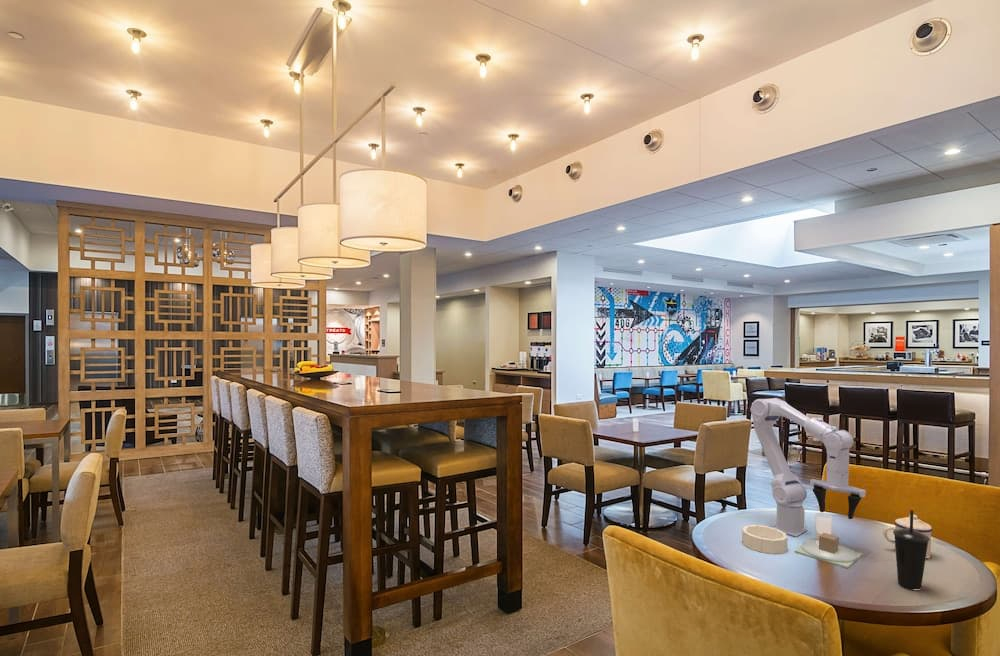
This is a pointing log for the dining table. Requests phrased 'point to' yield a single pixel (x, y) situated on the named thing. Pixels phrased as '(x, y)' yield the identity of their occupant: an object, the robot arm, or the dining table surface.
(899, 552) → the drinking cup
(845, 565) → the mat
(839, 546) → the cover
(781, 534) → the bowl
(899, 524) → the teacup with lid
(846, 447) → the robot arm
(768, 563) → the dining table surface
